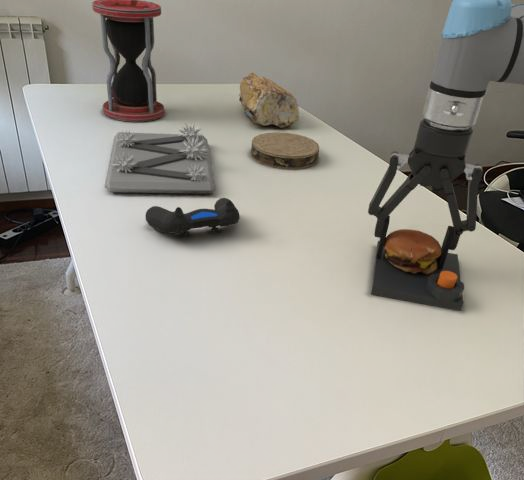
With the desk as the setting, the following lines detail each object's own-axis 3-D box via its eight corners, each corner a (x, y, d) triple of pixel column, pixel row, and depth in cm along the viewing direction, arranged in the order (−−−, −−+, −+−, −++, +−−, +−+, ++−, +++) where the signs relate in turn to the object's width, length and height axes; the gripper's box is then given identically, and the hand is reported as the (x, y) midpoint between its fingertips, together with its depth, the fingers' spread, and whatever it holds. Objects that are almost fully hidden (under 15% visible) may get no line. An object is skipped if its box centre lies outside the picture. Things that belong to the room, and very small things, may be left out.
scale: (455, 261, 97) (460, 246, 95) (461, 311, 85) (467, 295, 83) (376, 247, 99) (379, 232, 97) (370, 295, 86) (374, 278, 84)
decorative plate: (115, 141, 129) (112, 110, 125) (206, 144, 133) (207, 113, 128) (105, 195, 107) (101, 158, 102) (215, 197, 110) (216, 161, 106)
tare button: (453, 281, 86) (457, 272, 85) (454, 290, 84) (458, 280, 83) (436, 278, 87) (440, 269, 85) (437, 287, 85) (440, 277, 83)
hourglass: (177, 115, 149) (175, 7, 133) (129, 126, 139) (120, 11, 123) (138, 100, 156) (132, -4, 140) (90, 110, 146) (77, -1, 131)
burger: (399, 242, 98) (405, 218, 95) (447, 262, 93) (455, 238, 91) (369, 261, 92) (375, 236, 89) (419, 284, 87) (426, 258, 84)
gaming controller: (147, 241, 99) (161, 237, 90) (141, 208, 98) (154, 201, 89) (233, 228, 105) (253, 223, 96) (228, 198, 104) (248, 190, 95)
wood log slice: (305, 174, 123) (307, 161, 121) (240, 159, 127) (241, 146, 125) (325, 153, 135) (327, 140, 133) (265, 140, 138) (266, 128, 137)
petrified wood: (231, 106, 157) (240, 69, 152) (273, 116, 162) (283, 80, 157) (250, 126, 143) (260, 85, 137) (295, 136, 148) (307, 97, 142)
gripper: (368, 118, 77) (341, 258, 91) (531, 142, 75) (477, 282, 89) (371, 104, 83) (346, 238, 97) (523, 126, 80) (474, 260, 94)
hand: (409, 259), depth 93 cm, fingers closed on burger, 9 cm apart
